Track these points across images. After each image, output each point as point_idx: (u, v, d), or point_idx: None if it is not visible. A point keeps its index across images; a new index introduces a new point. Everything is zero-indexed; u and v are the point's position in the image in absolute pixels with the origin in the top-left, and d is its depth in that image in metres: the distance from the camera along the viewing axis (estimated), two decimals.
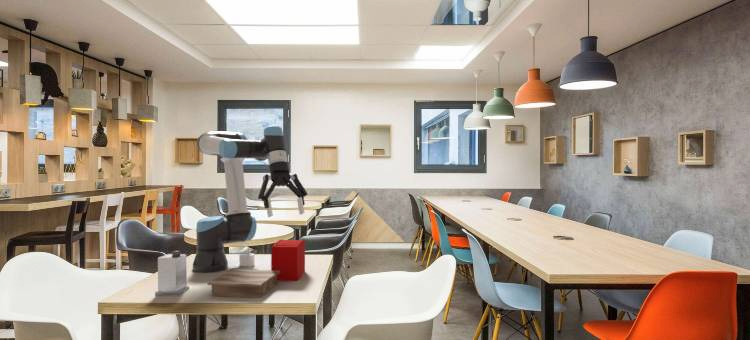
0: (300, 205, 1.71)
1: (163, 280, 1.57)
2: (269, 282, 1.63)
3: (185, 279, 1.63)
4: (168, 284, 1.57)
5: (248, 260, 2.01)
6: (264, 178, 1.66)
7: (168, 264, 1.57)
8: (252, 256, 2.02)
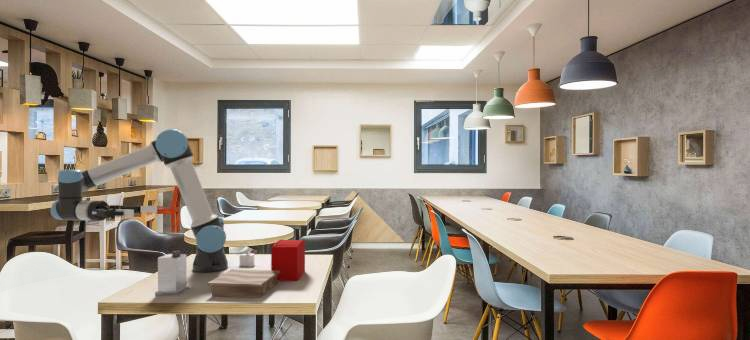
0: None
1: (163, 280, 1.57)
2: (269, 282, 1.63)
3: (185, 279, 1.63)
4: (168, 284, 1.57)
5: (248, 260, 2.01)
6: None
7: (168, 264, 1.57)
8: (252, 256, 2.02)
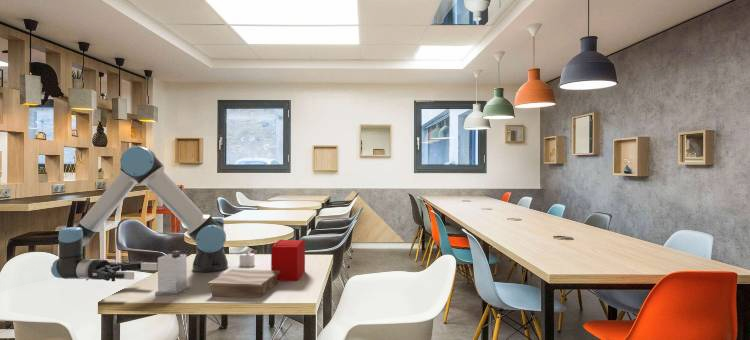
0: None
1: (163, 280, 1.57)
2: (269, 282, 1.63)
3: (185, 279, 1.63)
4: (168, 284, 1.57)
5: (248, 260, 2.01)
6: None
7: (168, 264, 1.57)
8: (252, 256, 2.02)
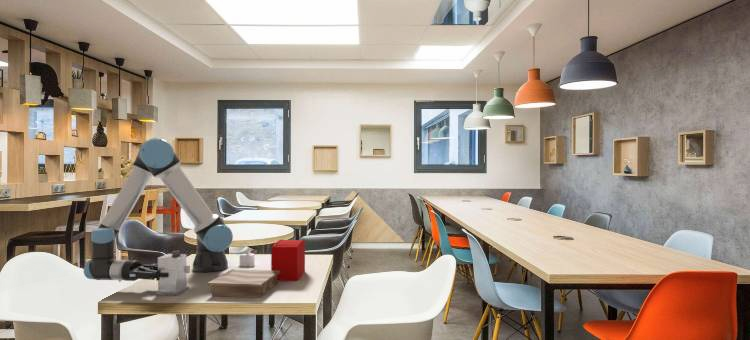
0: None
1: (163, 280, 1.57)
2: (269, 282, 1.63)
3: (185, 279, 1.63)
4: (168, 284, 1.57)
5: (248, 260, 2.01)
6: None
7: (168, 264, 1.57)
8: (252, 256, 2.02)
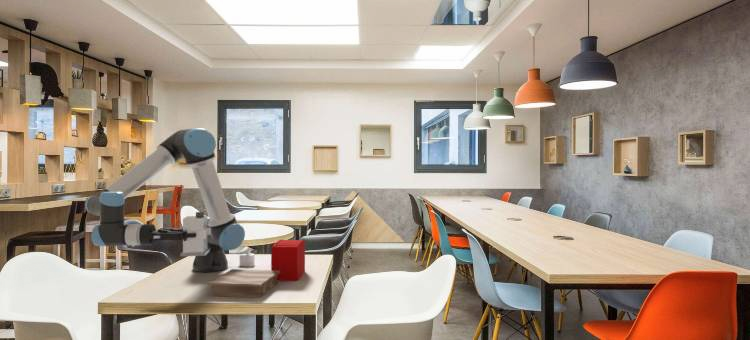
0: None
1: (189, 240, 1.55)
2: (269, 282, 1.63)
3: None
4: (195, 245, 1.55)
5: (248, 260, 2.01)
6: None
7: (195, 224, 1.55)
8: (252, 256, 2.02)
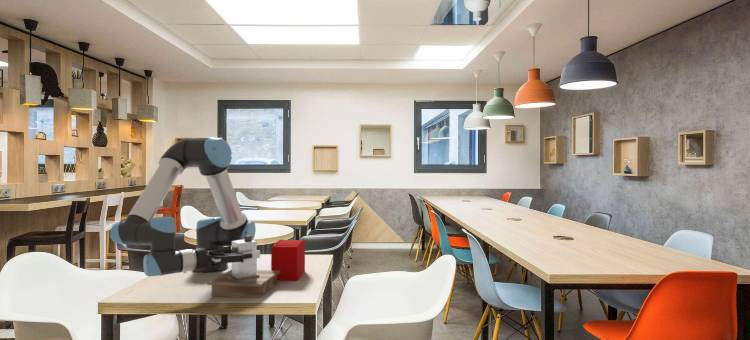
0: None
1: (243, 264, 1.59)
2: (269, 282, 1.63)
3: None
4: (249, 268, 1.60)
5: None
6: None
7: (249, 248, 1.60)
8: None
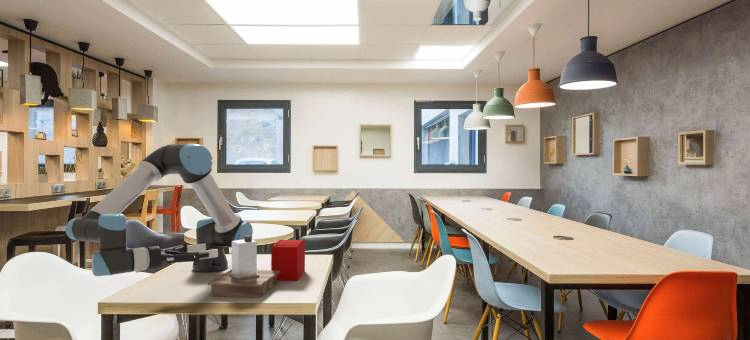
0: None
1: (243, 264, 1.59)
2: (269, 282, 1.63)
3: None
4: (249, 268, 1.60)
5: None
6: None
7: (249, 248, 1.60)
8: None
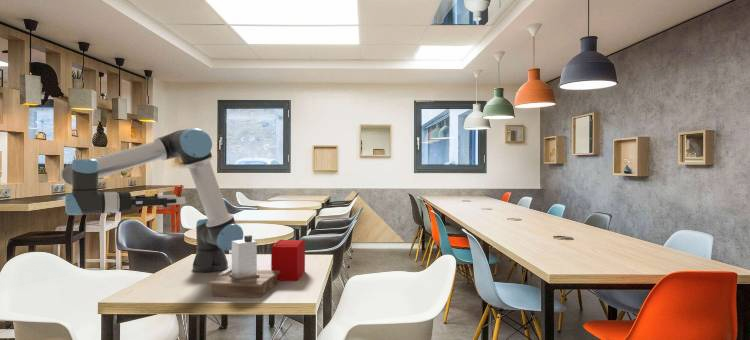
0: None
1: (243, 264, 1.59)
2: (269, 282, 1.63)
3: None
4: (249, 268, 1.60)
5: None
6: None
7: (249, 248, 1.60)
8: None
